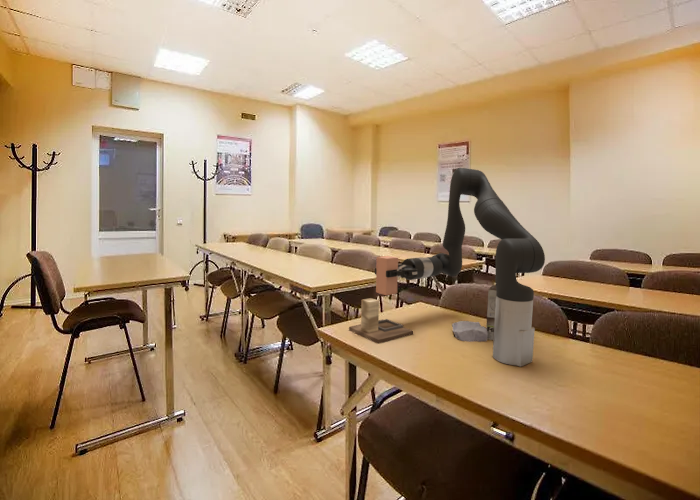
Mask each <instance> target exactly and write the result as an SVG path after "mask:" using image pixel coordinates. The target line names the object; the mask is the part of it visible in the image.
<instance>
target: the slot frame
mask: <svg viewBox="0 0 700 500" xmlns="http://www.w3.org/2000/svg"><path fill="white" fill-rule="evenodd" d="M379 320H380V321H378V324H380V323H384V322H388V323H390V324H393V325H396V326H394V327H390V328H386V329H384V328H382V327H379V326H378V329H379V330H381V331H384V332H386V331H390V330H395V329H399V328H403V327H404V325H403V324H401V323H398V322H396V321H393V320H390V319H388V318H385V319H383V320H382V319H379Z"/></svg>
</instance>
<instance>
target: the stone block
mask: <svg viewBox="0 0 700 500" xmlns="http://www.w3.org/2000/svg"><path fill="white" fill-rule="evenodd" d="M451 326H452V332H453V335H454V337H455V338H456V339H457V340H459V341H461V342H468V343H469V342H470V343H472V342H478V343H479V342H480V343H481V342H487V341H488V339H487V336H488V335H487V334H488V333H487V329H486V327H485V326H483V325H481V323H480V322H479V321H469V320H460V321H457V322H453V323H452V324H451Z"/></svg>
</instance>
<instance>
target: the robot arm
mask: <svg viewBox="0 0 700 500" xmlns="http://www.w3.org/2000/svg"><path fill="white" fill-rule="evenodd" d="M450 179H451V180H450V185H449V195H448V209H447V210H448V211H447V221H446V227H445V232H444V236H443V240H442V247H443V248H444V249H445V250H446V251H447V252H448V254H447V253H444V252H443V253H442V252H439V253H437V254H435V255H432V256H427V257H423V256H422V257H421V256H420V257H411V258H405V259H404V260H403V261H402V262H401V263H398V269H396V270H387V271H386V277H398V278H402V279H406V280H408V281H412V280H420V279H425V278H429V277H434V276H435V277H436V276H438V275H440V274H441V273H442V274H445V275H448V276H449V277H455V276H458V275H459V274H460V273H461V270H462V268H463V248H462V247H463V243H464V239H465V235H466V224H465V221H464V218H463V214H462V211H461V206H460V202H461V201H460V200H461V195H462V196H471V197H474V198H475V199H477V200H476V202H475V205H474V208H473V213H474V214H473V215H474V217H475V218H476V220H477V221H478V223H479V224H480V226H481V227H482V228H483V230H484V231H486V232H488V234H490V235H492V236H494V237H495V238H498V239H500V241H499V242H498V243H497V246H496V249H495V277H494V278H495V285H496V307H495V324H494V340H492V341H493V342H492V343H493V347H492V357H493V359H495V361H496V362H497V361H498V362H499V363H502V364H506V365H510V366H518V367H524V366H526V365H528V364H531V363H532V362H533V359H534V358H533V356H534V344H535V343H534V342H535V330H536V329H535V327H534V326H532V321H533V309H534V307H533V306H534V294H535V293H534V289H533V288H532V287H530V286H528V285H525V284H522V283H520V282H519V281H518V280H517V274H530V273H536V272H539V271H540V270H542V268H543V267H544V266H545V261H546V256H545V251H544V249H543V246H542V245H541V243H540V242H539V241H538V240H537V238H535V237H534V236H533V235H532V234H531V233H530V232H529V231H528V230H527V229H526V228H525V227H524V226H523V225H522V224H521V223H520V222H519V221H518V220H517V218H516V217H515V215H513V213H512V212H511V211H510V209H509V208H508V207H507V205H506V203H505V202H504V201H503V200H502V199H501V198H500V197H499V195H498V194H497V193H496V192H495V190H494V188H493V187H492V185H491V183H490V181H489V179H488V178H487V176H486V174H485V173H484V172H483V171H481V170H479V169H475V168H474V169H473V168H468V167H467V168H466V167H459V168H458V167H457V168H456V169H455V170H454V171H453V173H452V175H451V178H450ZM376 270H377V269H376V268H375V269H374V274H375V276H376Z"/></svg>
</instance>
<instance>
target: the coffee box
mask: <svg viewBox="0 0 700 500" xmlns="http://www.w3.org/2000/svg"><path fill="white" fill-rule="evenodd" d="M487 293H488V295H487V308H486V309H487V311H486V325H485V326H486V327H485V328H486V329H487V333H488V334H487V335H488V336H487V340H491V341H494V324H495V307H496V284H495V285H494V284H492V285H491V286H490V288H488V292H487Z"/></svg>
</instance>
